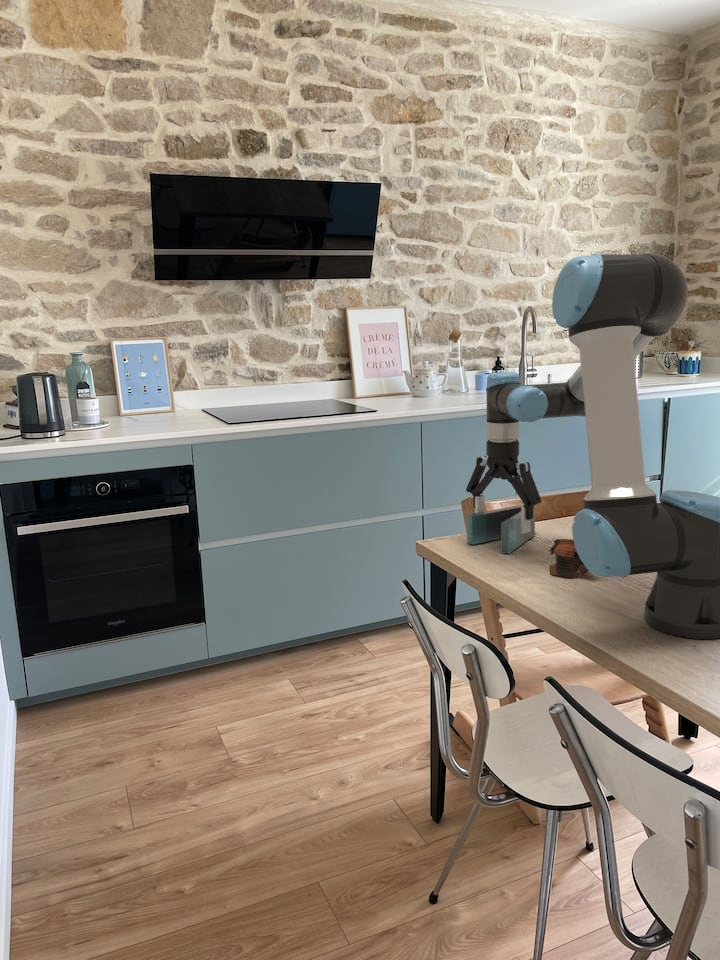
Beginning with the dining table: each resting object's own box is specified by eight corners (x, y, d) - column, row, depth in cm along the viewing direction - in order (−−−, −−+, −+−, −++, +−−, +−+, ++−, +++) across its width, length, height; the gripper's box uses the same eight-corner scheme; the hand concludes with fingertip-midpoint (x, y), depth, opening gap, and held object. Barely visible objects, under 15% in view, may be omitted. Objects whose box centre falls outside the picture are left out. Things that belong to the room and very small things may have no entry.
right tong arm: (527, 534, 184) (527, 507, 183) (534, 535, 183) (535, 508, 182) (501, 552, 172) (501, 523, 170) (508, 553, 171) (509, 524, 169)
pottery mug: (536, 574, 159) (541, 537, 161) (565, 584, 164) (570, 548, 166) (581, 575, 149) (586, 535, 151) (610, 586, 154) (615, 547, 156)
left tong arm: (519, 531, 187) (519, 504, 185) (524, 533, 185) (524, 506, 184) (467, 542, 180) (467, 514, 178) (472, 544, 178) (471, 516, 176)
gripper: (558, 442, 166) (555, 533, 171) (471, 432, 185) (471, 514, 189) (538, 447, 162) (536, 540, 166) (451, 436, 180) (452, 520, 184)
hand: (502, 527), depth 178 cm, fingers open, 13 cm apart
